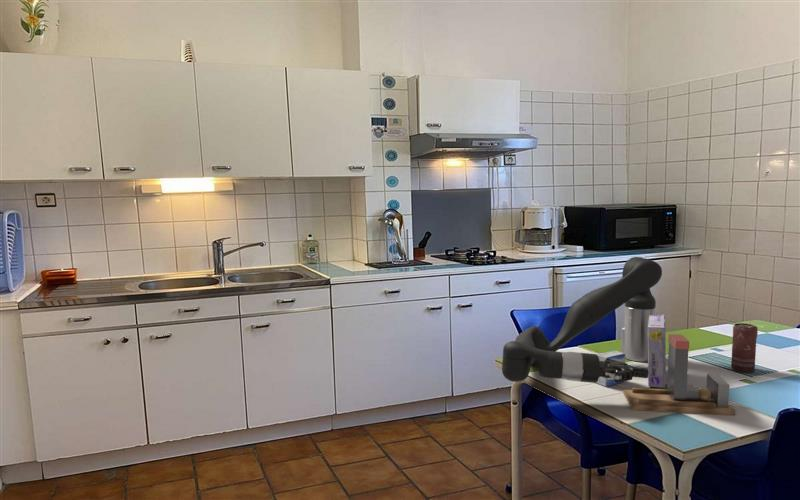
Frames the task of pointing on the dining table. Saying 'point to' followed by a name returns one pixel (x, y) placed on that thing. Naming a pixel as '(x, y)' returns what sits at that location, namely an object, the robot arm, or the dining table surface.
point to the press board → (670, 403)
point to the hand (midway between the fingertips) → (647, 373)
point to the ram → (679, 370)
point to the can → (744, 347)
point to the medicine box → (614, 356)
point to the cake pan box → (656, 351)
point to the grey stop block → (718, 390)
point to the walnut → (704, 394)
